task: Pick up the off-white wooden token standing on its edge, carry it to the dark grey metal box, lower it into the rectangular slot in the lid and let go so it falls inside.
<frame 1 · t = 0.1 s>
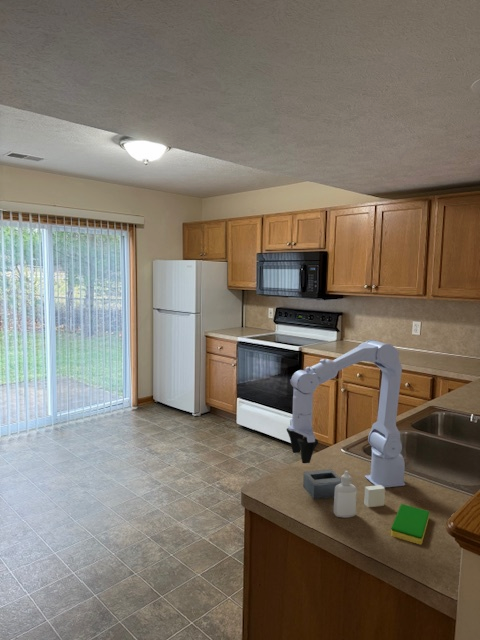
hand: (301, 457, 129), 10 cm above the counter, tool pointing down, fingers open, 7 cm apart
token: (374, 504, 123), on the counter
slot box: (322, 491, 130), on the counter
dish sponge: (410, 528, 112), on the counter
eye dropper bottle: (344, 515, 117), on the counter
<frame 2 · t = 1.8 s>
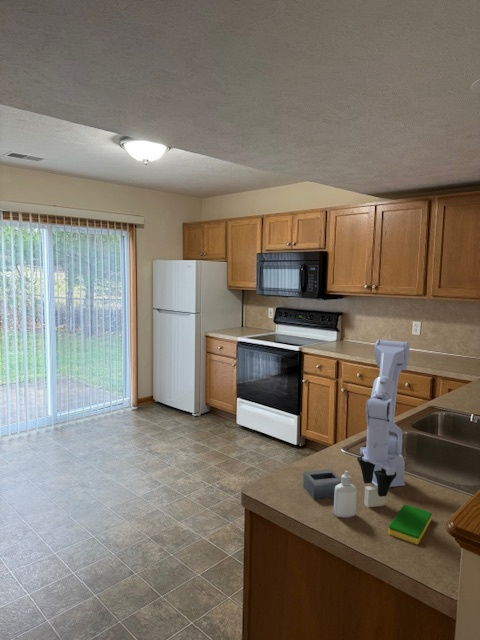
hand: (374, 489, 122), 5 cm above the counter, tool pointing down, fingers open, 7 cm apart
nothing on the counter moved.
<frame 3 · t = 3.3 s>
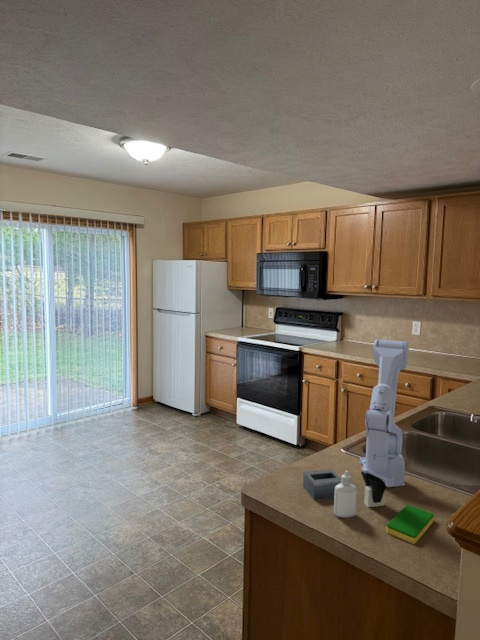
hand: (374, 499, 122), 1 cm above the counter, tool pointing down, fingers closed on token, 2 cm apart
token: (374, 504, 123), on the counter, touching gripper
everything else where it was.
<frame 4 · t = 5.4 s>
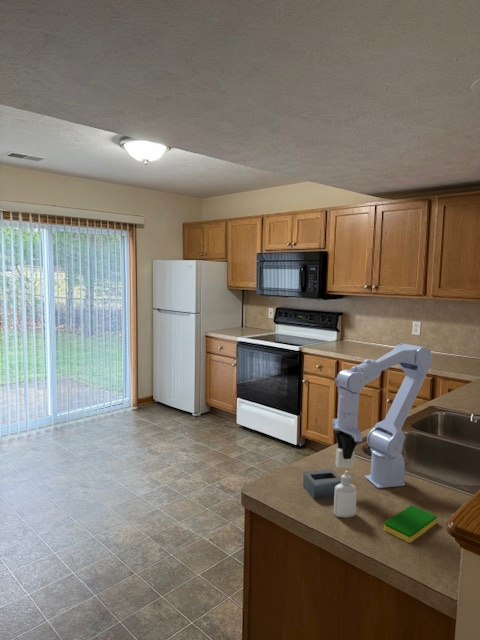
hand: (345, 456, 129), 10 cm above the counter, tool pointing down, fingers closed on token
token: (344, 466, 129), point 8 cm above the counter, touching gripper
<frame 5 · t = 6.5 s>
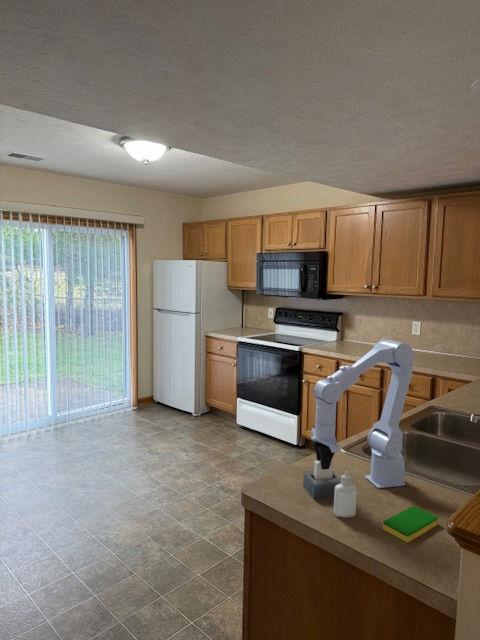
hand: (323, 466, 129), 7 cm above the counter, tool pointing down, fingers closed on token
token: (322, 477, 129), point 4 cm above the counter, touching gripper
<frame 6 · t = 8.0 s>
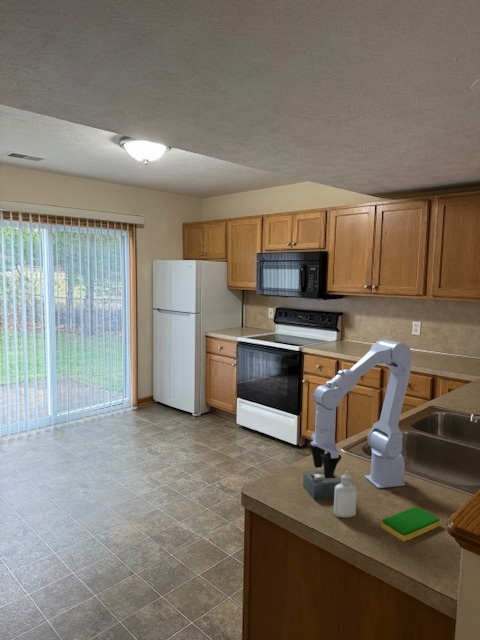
hand: (323, 472, 129), 6 cm above the counter, tool pointing down, fingers open, 7 cm apart
token: (322, 491, 130), resting in slot box
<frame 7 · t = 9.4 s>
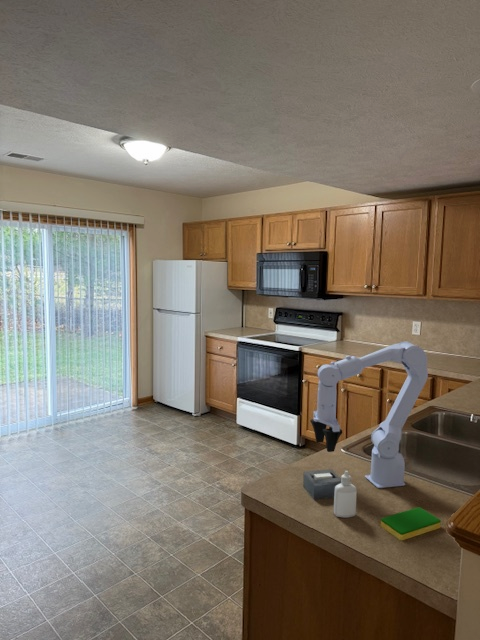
hand: (325, 446, 137), 10 cm above the counter, tool pointing down, fingers open, 7 cm apart
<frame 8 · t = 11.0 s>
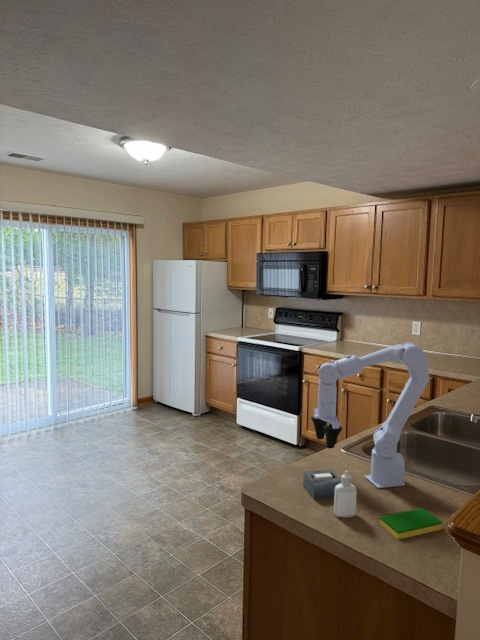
hand: (325, 443, 140), 10 cm above the counter, tool pointing down, fingers open, 7 cm apart
at the end: token inside the target area on the slot box (0.0 cm from its centre), point 0.0 cm above the slot box's base; the gripper is holding nothing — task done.
